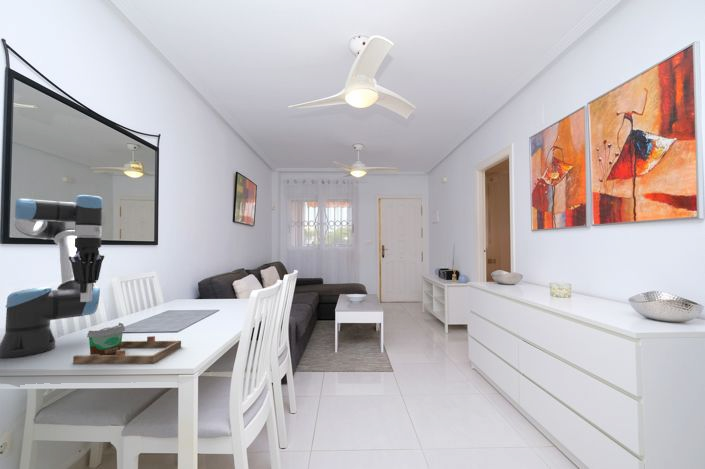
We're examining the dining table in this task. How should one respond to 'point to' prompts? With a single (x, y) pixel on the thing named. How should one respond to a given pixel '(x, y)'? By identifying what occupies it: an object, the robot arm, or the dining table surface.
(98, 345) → the food container
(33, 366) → the dining table surface
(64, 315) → the robot arm
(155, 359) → the slot rails
